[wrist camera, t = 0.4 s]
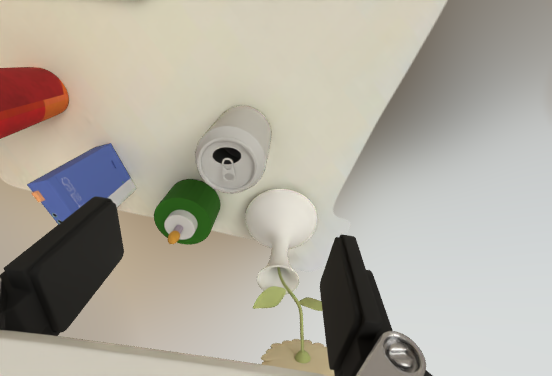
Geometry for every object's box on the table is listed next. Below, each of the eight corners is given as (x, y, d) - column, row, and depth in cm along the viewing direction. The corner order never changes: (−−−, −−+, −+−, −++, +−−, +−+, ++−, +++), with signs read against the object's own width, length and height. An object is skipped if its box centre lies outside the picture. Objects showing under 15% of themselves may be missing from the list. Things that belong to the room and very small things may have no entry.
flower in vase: (238, 228, 45) (189, 403, 24) (260, 173, 40) (223, 333, 18) (308, 252, 47) (323, 435, 25) (338, 201, 42) (390, 378, 20)
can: (269, 102, 35) (260, 129, 25) (273, 155, 39) (267, 198, 28) (213, 105, 36) (181, 133, 25) (223, 157, 39) (198, 200, 29)
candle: (159, 187, 42) (125, 225, 33) (206, 173, 41) (183, 209, 32) (184, 227, 46) (159, 271, 37) (228, 216, 44) (212, 259, 36)
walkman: (94, 147, 39) (23, 186, 29) (111, 143, 39) (44, 181, 28) (122, 192, 43) (67, 241, 33) (137, 188, 43) (86, 237, 32)
